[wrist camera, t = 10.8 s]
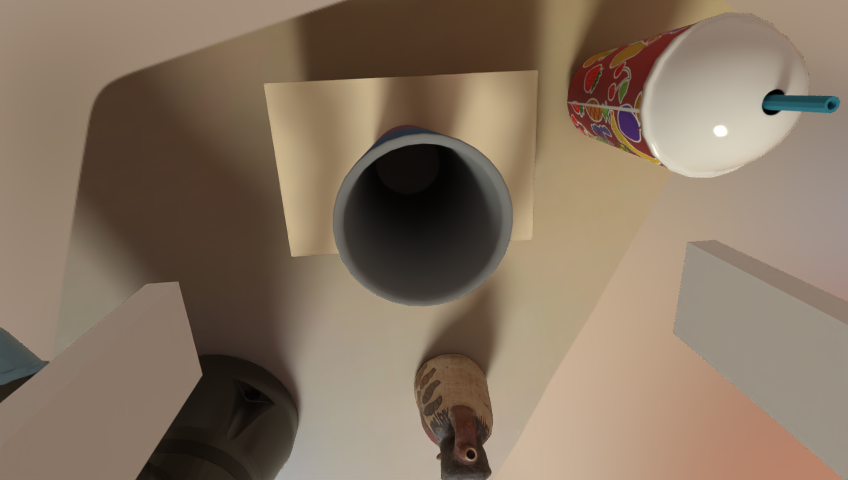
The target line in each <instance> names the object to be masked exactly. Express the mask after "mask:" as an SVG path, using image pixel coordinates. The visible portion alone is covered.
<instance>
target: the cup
mask: <svg viewBox="0 0 848 480" xmlns="http://www.w3.org/2000/svg"><path fill="white" fill-rule="evenodd" d="M512 226H513V208H512V202H511V198H510V194H509V190H508V188H507V186H506V184H505V182H504V179H503V177H502V175H501V173H500V172H499V171H498V170H497V168H496V167H495V166H494V165H493V163H492V162H491V161H490V160H489V159H488V158H487V157H486V156H485V155H484V154H482V153H481V152H480V151H479V150H478V149H476V148H475V147H473V146H471V145H469V144H467V143H465V142H463V141H462V140H460V139H456V138H453V137H450V136H447V135H444V134H440V133H437V132H434V131H431V130H427V129H424V128H421V127H418V126H414V125H401V126H397V127H394V128H392V129H390V130H388V131H387V132H385V133H384V134H383V135H382V136H381V137H380V138H379V139H378V140H377V141H376V142H375V143H374V144H373V145H372V146H371V148H370V149H369V150H368V151H367V152H366V153H365V154H364V155H363V156H362V157H361V158H360V159H359V160H358V161H357V162H356V163H355V165H354V166H353V167H352V169H351V170H350V171H349V173H348V174H347V175H346V177H345V178H344V180H343V183H342V185H341V187H340V189H339V191H338V193H337V197H336V201H335V206H334V210H333V232H334V237H335V243H336V246H337V249H338V251H339V254H340V256H341V259H342V261H343V262H344V264H345V265H346V267H347V268H348V270H349V271H350V273H351V274H352V275H353V276H354V277H355V278H356V279H357V280H358V281H359V282H360V283H361V284H362V285H363V286H364V287H365V288H367V289H368V290H370V291H371V292H373V293H374V294H376V295H377V296H380V297H382V298H384V299H387V300H389V301H391V302H395V303H399V304H404V305H408V306H432V305H439V304H444V303H447V302H450V301H453V300H456V299H459V298H460V297H462V296H464V295H466V294H468V293H470V292H472V291H473V290H474V289H476V288H477V287H478V286H480V285H481V284H482V283H483V282H485V281H486V280H487V279H488V277H489V276H490V275H491V274H492V273H493V272H494V271H495V270H496V268H497V267H498V265H499V263H500V262H501V260H502V258H503V257H504V255H505V252H506V250H507V247H508V244H509V242H510V239H511V233H512Z"/></svg>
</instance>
